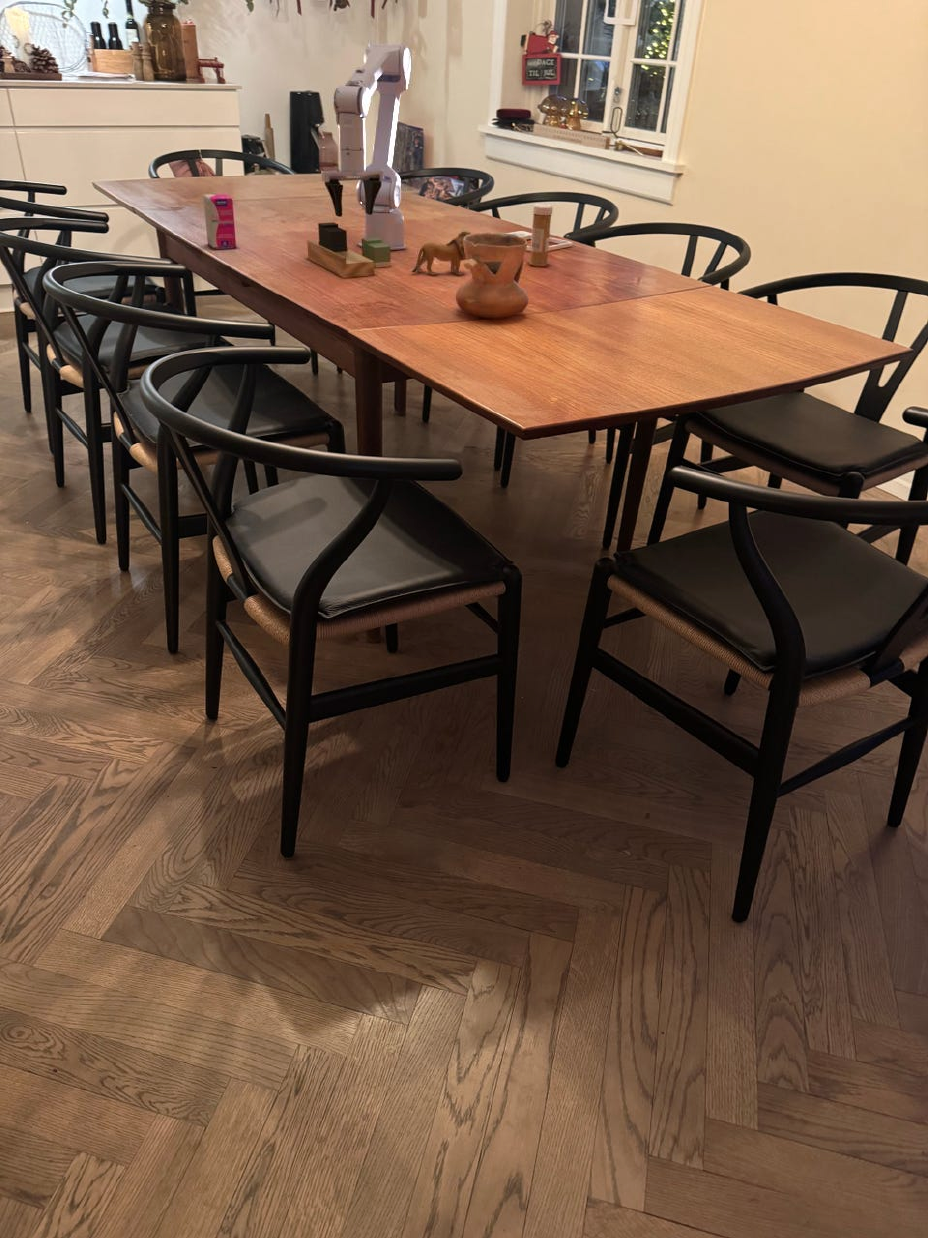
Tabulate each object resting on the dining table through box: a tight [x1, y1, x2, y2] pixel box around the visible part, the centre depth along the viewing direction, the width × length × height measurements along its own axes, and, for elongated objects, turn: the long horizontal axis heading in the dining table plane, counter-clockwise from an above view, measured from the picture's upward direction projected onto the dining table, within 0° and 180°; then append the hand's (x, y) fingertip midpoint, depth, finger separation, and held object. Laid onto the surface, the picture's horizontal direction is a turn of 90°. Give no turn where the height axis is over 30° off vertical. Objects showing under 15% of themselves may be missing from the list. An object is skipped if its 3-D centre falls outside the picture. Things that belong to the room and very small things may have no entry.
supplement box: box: [202, 193, 237, 250], centre depth 214 cm, size 6×6×12 cm
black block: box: [317, 221, 348, 252], centre depth 206 cm, size 4×8×5 cm, turn 32°
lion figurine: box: [411, 230, 472, 276], centre depth 201 cm, size 15×5×9 cm, turn 110°
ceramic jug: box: [455, 232, 529, 319], centre depth 174 cm, size 18×14×14 cm
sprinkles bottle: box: [529, 203, 554, 267], centre depth 212 cm, size 5×5×14 cm
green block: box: [361, 238, 392, 269], centre depth 208 cm, size 4×8×5 cm, turn 32°
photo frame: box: [505, 230, 574, 252], centre depth 235 cm, size 15×1×18 cm
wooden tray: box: [306, 239, 375, 279], centre depth 204 cm, size 8×20×4 cm, turn 32°
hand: (354, 214), depth 204 cm, fingers open, 7 cm apart
